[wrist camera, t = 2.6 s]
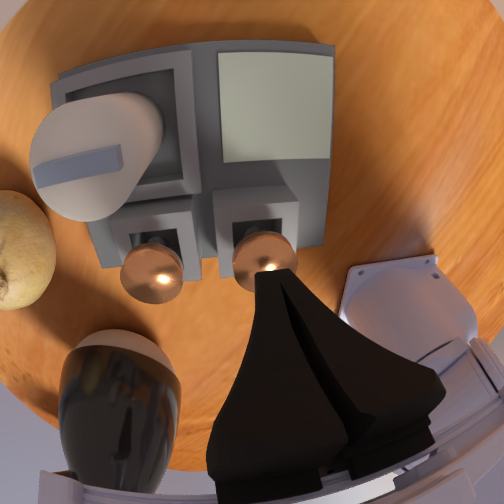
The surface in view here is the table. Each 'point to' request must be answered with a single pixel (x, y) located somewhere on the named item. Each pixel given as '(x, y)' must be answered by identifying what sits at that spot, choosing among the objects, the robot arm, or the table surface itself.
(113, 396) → the pump dispenser
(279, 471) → the robot arm
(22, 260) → the onion
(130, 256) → the plunger
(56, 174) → the disc
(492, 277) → the table surface
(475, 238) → the table surface
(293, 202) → the housing
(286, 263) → the plunger
